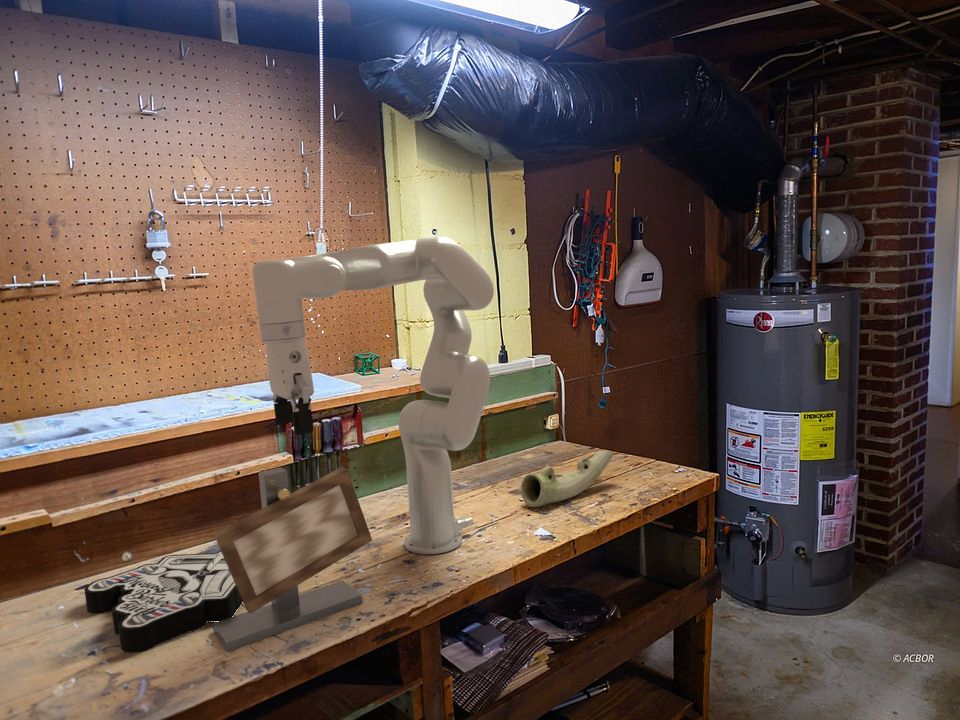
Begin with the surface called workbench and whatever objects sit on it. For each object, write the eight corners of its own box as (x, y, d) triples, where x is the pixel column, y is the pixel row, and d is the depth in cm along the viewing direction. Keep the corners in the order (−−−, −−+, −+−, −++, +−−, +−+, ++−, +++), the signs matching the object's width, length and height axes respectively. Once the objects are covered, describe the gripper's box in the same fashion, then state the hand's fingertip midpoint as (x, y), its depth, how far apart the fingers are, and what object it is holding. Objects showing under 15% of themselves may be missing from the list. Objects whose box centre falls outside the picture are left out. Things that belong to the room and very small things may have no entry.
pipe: (542, 514, 163) (540, 474, 161) (517, 506, 169) (516, 467, 168) (616, 485, 181) (615, 448, 179) (591, 479, 187) (590, 443, 186)
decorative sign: (78, 584, 129) (232, 534, 149) (81, 606, 129) (234, 554, 150) (127, 636, 109) (297, 571, 129) (131, 662, 109) (299, 593, 130)
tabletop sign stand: (343, 587, 130) (332, 455, 127) (362, 602, 124) (351, 464, 120) (213, 631, 117) (197, 484, 113) (227, 651, 110) (210, 496, 107)
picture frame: (367, 537, 128) (342, 466, 124) (372, 540, 126) (346, 469, 122) (246, 609, 115) (213, 534, 111) (250, 614, 114) (217, 537, 110)
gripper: (322, 332, 113) (333, 432, 116) (287, 326, 127) (298, 416, 130) (277, 338, 109) (290, 442, 111) (246, 332, 123) (258, 424, 126)
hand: (294, 428), depth 121 cm, fingers open, 9 cm apart
